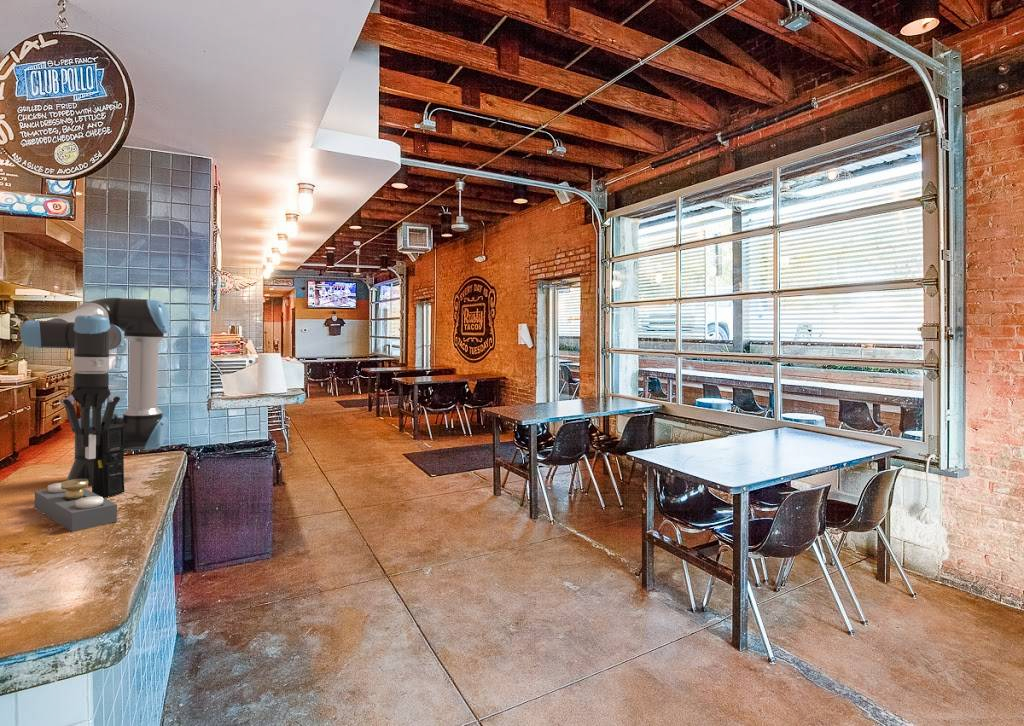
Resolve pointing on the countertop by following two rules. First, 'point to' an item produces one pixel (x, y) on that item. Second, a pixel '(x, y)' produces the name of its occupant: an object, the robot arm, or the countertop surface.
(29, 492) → the countertop surface
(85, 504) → the knob far
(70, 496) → the brass knob
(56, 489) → the knob near arm
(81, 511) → the console
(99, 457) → the portable radio
